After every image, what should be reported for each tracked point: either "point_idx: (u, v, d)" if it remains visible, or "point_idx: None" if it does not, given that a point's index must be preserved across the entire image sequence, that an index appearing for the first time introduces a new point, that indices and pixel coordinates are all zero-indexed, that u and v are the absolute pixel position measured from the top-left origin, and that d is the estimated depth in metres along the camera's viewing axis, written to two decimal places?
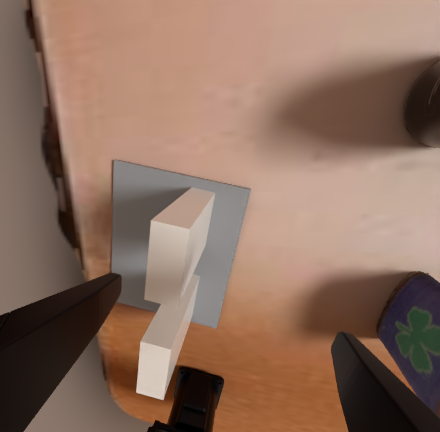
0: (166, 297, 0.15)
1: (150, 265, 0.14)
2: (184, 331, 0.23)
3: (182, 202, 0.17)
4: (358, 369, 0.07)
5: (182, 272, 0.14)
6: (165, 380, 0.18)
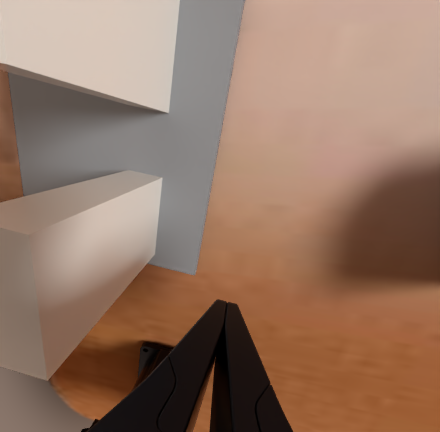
0: None
1: None
2: (126, 259, 0.12)
3: None
4: (223, 333, 0.07)
5: None
6: (39, 329, 0.07)
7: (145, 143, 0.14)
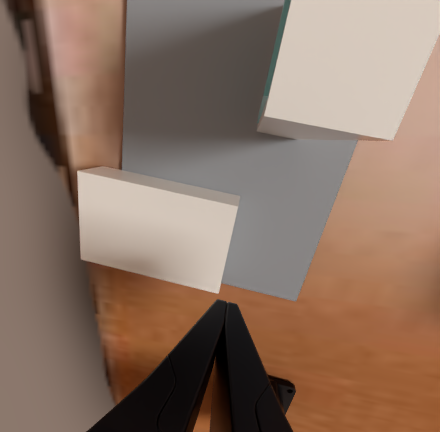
0: (359, 92, 0.04)
1: None
2: (157, 250, 0.14)
3: None
4: (223, 333, 0.07)
5: None
6: (80, 225, 0.14)
7: (265, 169, 0.14)
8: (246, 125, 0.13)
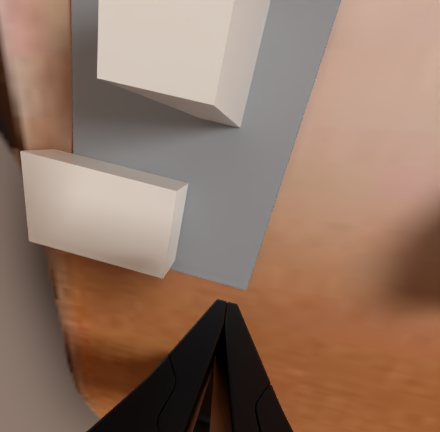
0: (176, 56, 0.04)
1: None
2: (102, 233, 0.14)
3: None
4: (223, 333, 0.07)
5: None
6: (26, 206, 0.14)
7: (211, 156, 0.14)
8: None
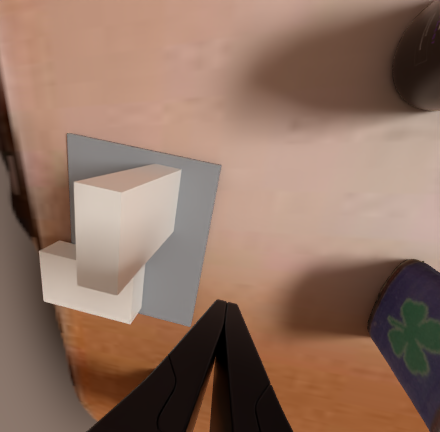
0: (102, 282, 0.12)
1: (79, 241, 0.12)
2: (90, 297, 0.22)
3: (132, 172, 0.15)
4: (223, 333, 0.07)
5: (118, 249, 0.11)
6: (42, 281, 0.22)
7: None
8: None
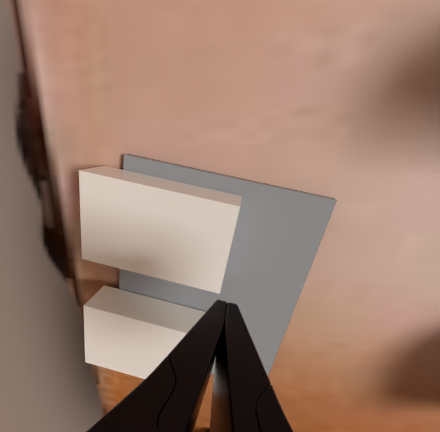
0: None
1: None
2: (147, 361, 0.17)
3: (162, 180, 0.14)
4: (223, 333, 0.07)
5: (81, 219, 0.14)
6: (85, 339, 0.18)
7: (233, 297, 0.17)
8: None
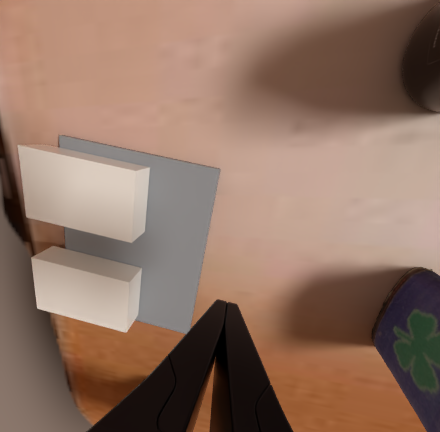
0: None
1: None
2: (85, 305, 0.21)
3: (87, 155, 0.18)
4: (223, 333, 0.07)
5: (23, 184, 0.18)
6: (35, 288, 0.22)
7: (155, 252, 0.21)
8: None
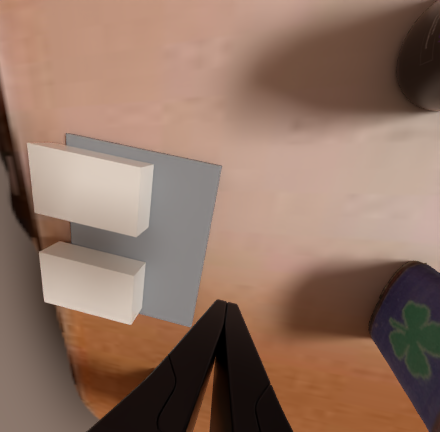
0: None
1: None
2: (91, 298, 0.22)
3: (93, 152, 0.19)
4: (223, 333, 0.07)
5: (31, 180, 0.19)
6: (43, 281, 0.22)
7: (158, 247, 0.22)
8: None
